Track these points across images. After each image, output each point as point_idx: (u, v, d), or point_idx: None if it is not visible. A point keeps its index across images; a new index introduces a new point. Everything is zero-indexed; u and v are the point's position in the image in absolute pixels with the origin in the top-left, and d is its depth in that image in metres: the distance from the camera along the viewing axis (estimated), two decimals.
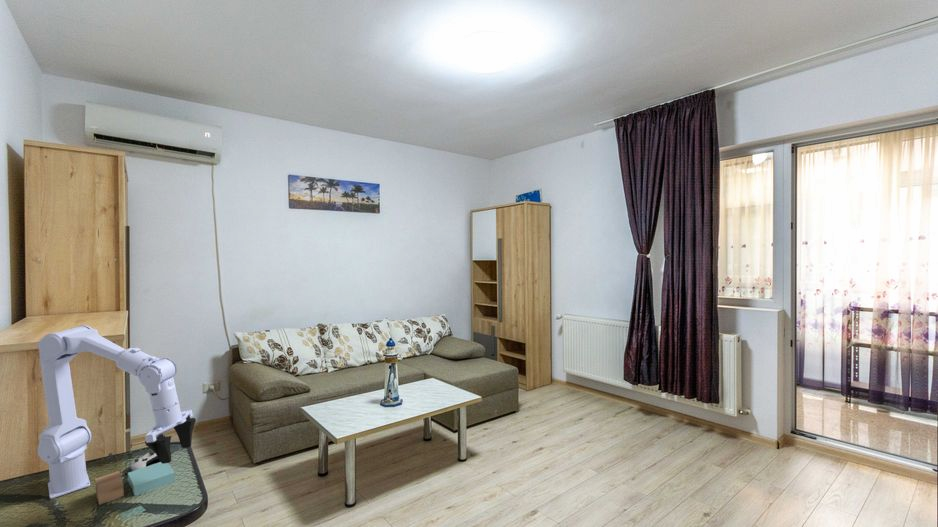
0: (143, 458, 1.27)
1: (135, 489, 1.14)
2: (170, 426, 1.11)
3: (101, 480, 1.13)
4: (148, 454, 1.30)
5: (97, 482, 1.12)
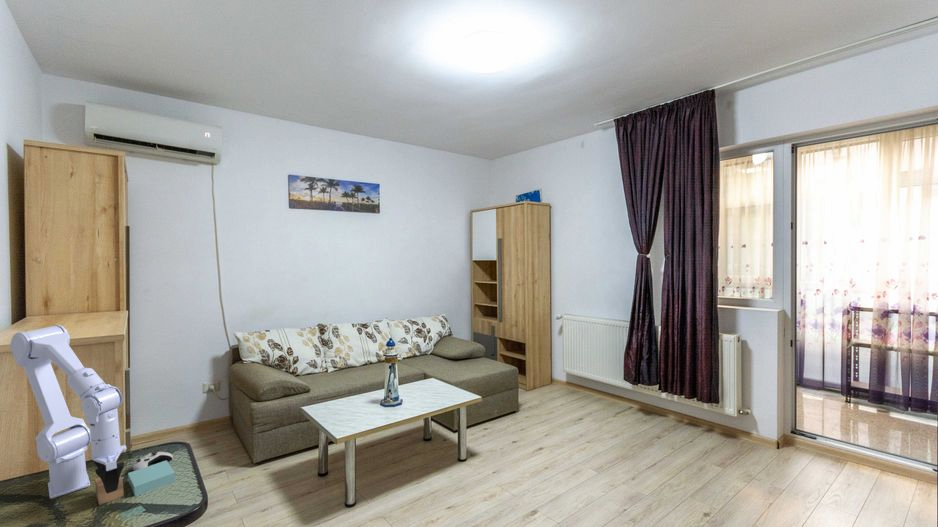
0: (145, 458, 1.27)
1: (135, 489, 1.14)
2: (119, 453, 1.13)
3: (101, 480, 1.13)
4: (150, 454, 1.30)
5: (97, 482, 1.12)
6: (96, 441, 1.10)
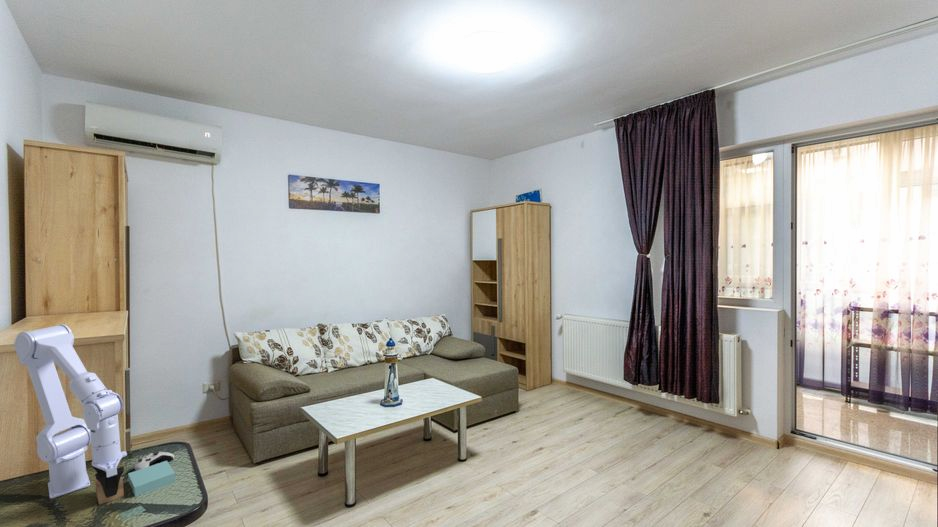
0: (147, 458, 1.27)
1: (135, 490, 1.14)
2: (119, 459, 1.13)
3: None
4: (152, 454, 1.30)
5: (97, 482, 1.12)
6: (97, 447, 1.10)
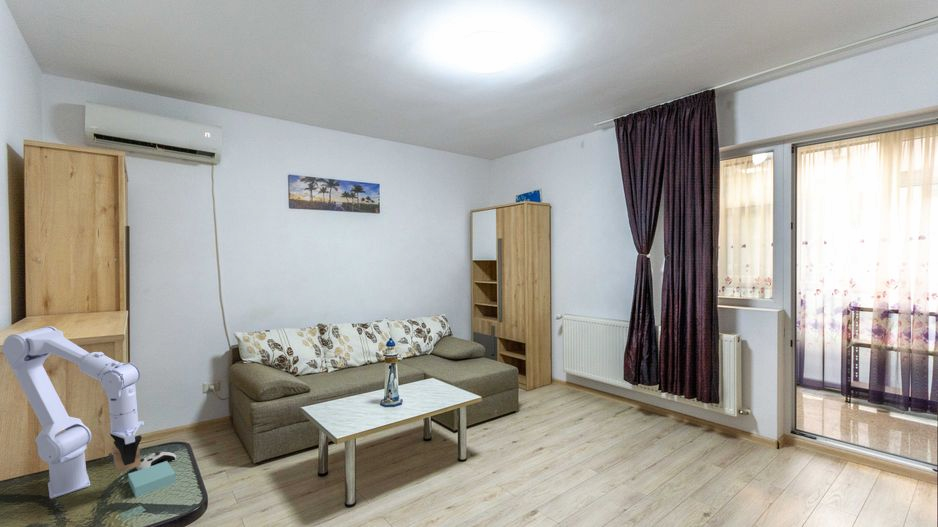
0: (148, 458, 1.27)
1: (136, 490, 1.14)
2: (137, 428, 1.15)
3: None
4: (154, 454, 1.30)
5: (115, 451, 1.14)
6: (115, 415, 1.12)
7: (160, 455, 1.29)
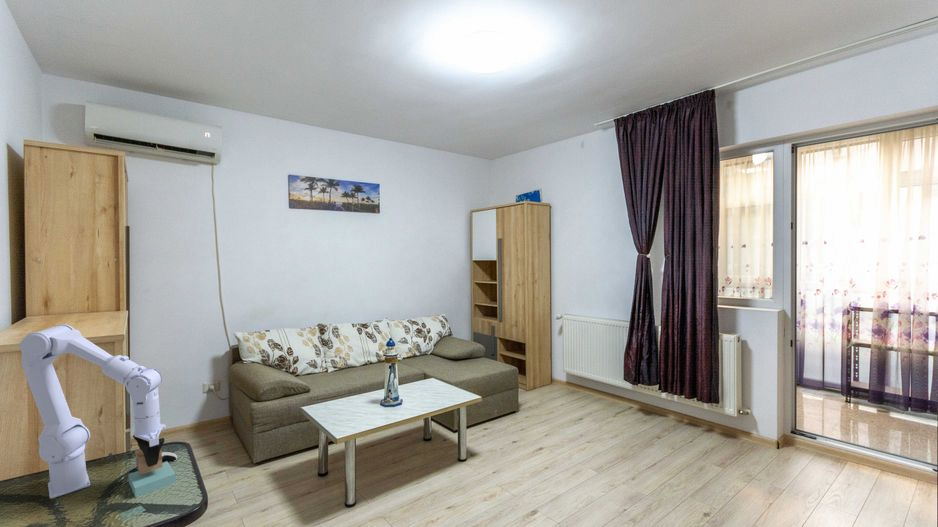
0: None
1: (136, 490, 1.14)
2: (160, 431, 1.19)
3: (141, 452, 1.19)
4: None
5: (138, 453, 1.18)
6: (139, 419, 1.16)
7: None
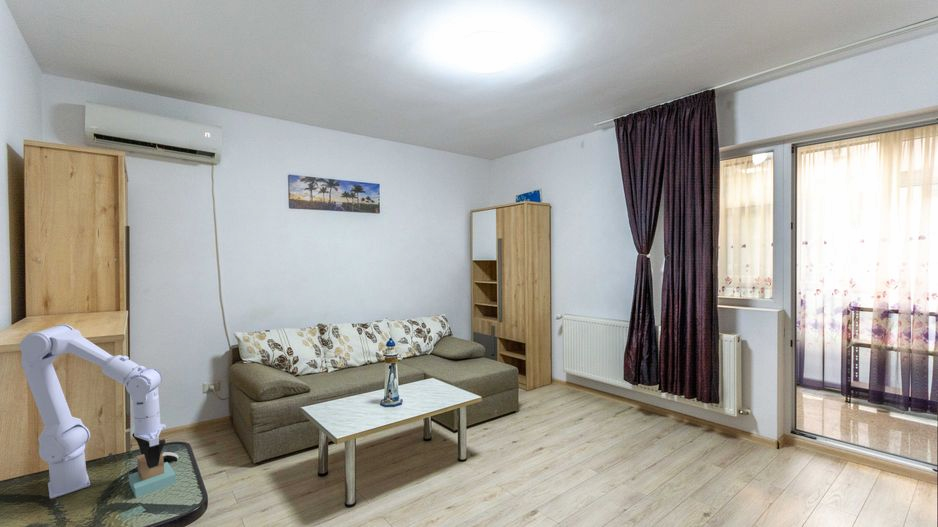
0: None
1: (136, 491, 1.14)
2: (160, 431, 1.19)
3: (143, 458, 1.19)
4: None
5: (139, 459, 1.18)
6: (139, 419, 1.16)
7: None
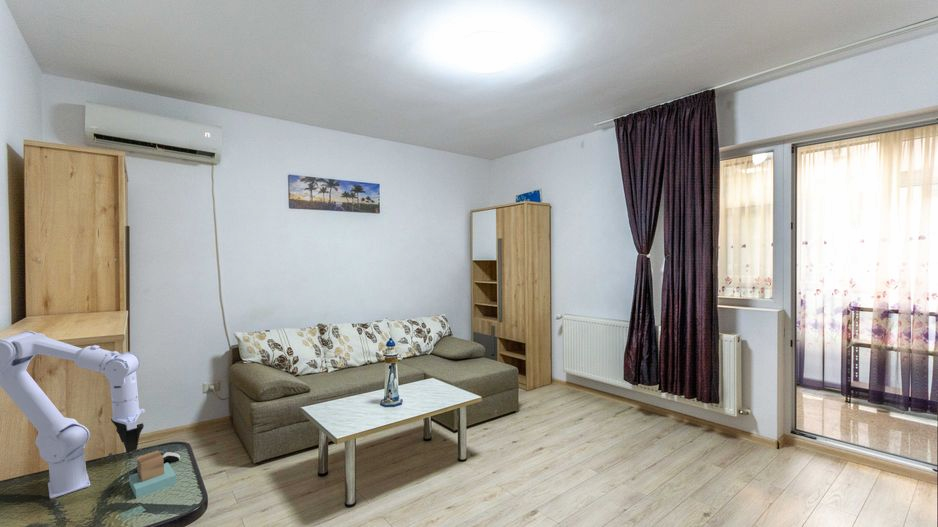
0: None
1: (137, 492, 1.13)
2: (138, 415, 1.18)
3: (143, 459, 1.18)
4: None
5: (139, 460, 1.18)
6: (117, 403, 1.15)
7: (164, 455, 1.29)
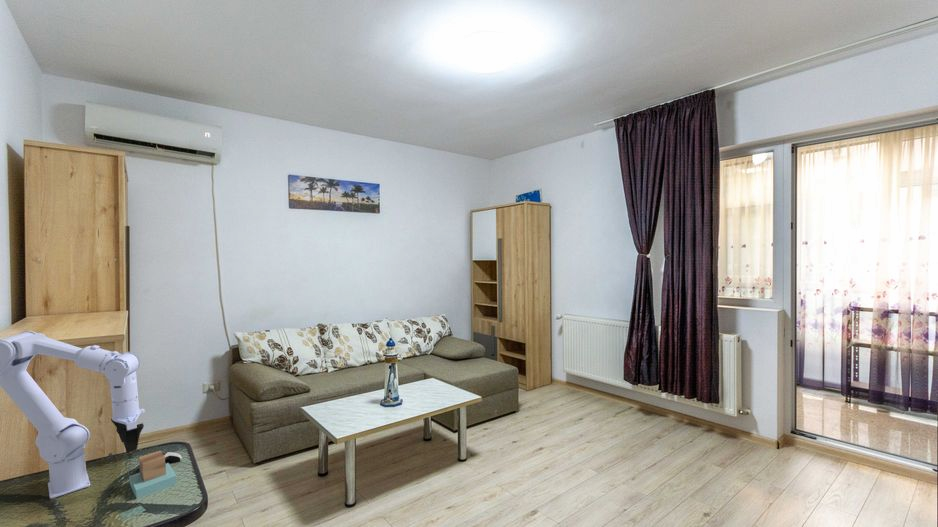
0: None
1: (137, 493, 1.13)
2: (138, 415, 1.18)
3: (145, 459, 1.18)
4: None
5: (141, 460, 1.18)
6: (117, 403, 1.15)
7: (166, 455, 1.29)
